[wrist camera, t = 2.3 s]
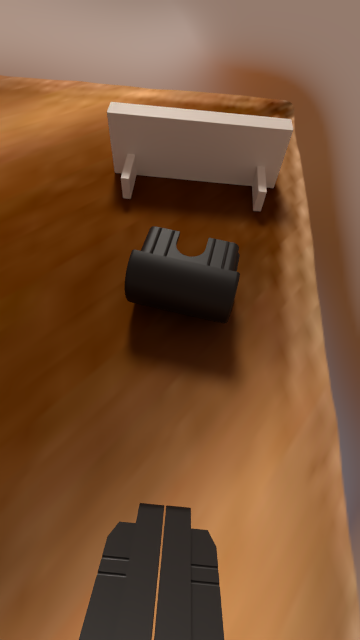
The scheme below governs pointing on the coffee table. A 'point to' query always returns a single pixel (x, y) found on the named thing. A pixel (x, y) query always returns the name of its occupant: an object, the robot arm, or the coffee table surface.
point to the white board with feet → (197, 146)
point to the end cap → (183, 276)
